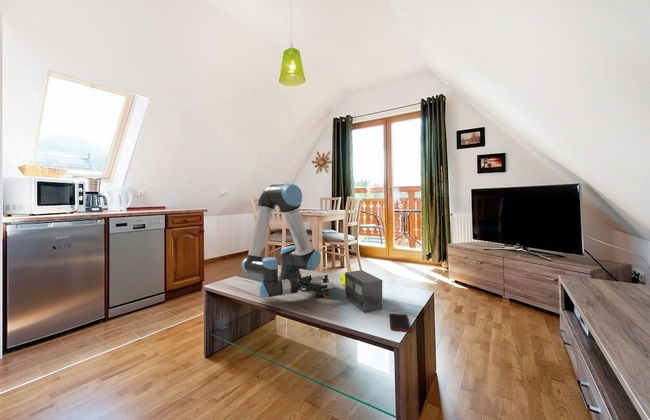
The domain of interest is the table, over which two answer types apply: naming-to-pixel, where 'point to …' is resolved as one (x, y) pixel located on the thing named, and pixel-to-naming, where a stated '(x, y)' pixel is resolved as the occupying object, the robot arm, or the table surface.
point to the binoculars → (324, 291)
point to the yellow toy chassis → (343, 278)
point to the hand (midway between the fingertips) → (327, 281)
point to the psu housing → (363, 290)
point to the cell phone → (399, 323)
